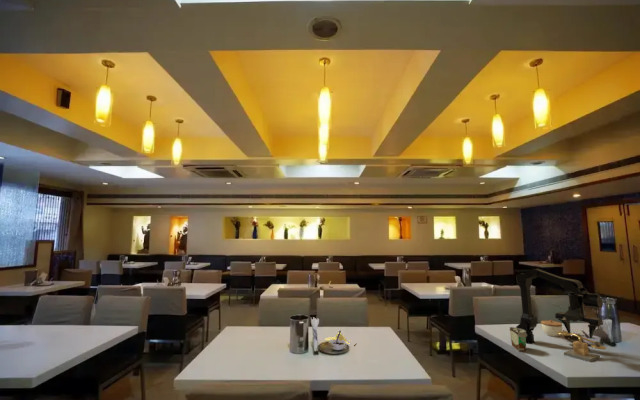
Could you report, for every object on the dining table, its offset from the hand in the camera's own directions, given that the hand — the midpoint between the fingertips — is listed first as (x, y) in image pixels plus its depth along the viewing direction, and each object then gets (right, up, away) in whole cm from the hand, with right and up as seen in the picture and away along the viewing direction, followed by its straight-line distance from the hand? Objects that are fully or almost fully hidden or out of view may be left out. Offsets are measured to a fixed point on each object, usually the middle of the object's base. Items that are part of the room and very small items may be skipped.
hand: (579, 335), depth 159 cm
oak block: (0, -9, -1) cm, 9 cm away
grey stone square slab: (0, -10, -1) cm, 10 cm away
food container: (-24, -12, +10) cm, 28 cm away
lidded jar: (+12, -15, +34) cm, 39 cm away
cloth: (-124, -15, +23) cm, 127 cm away
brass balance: (+9, -12, +11) cm, 18 cm away
